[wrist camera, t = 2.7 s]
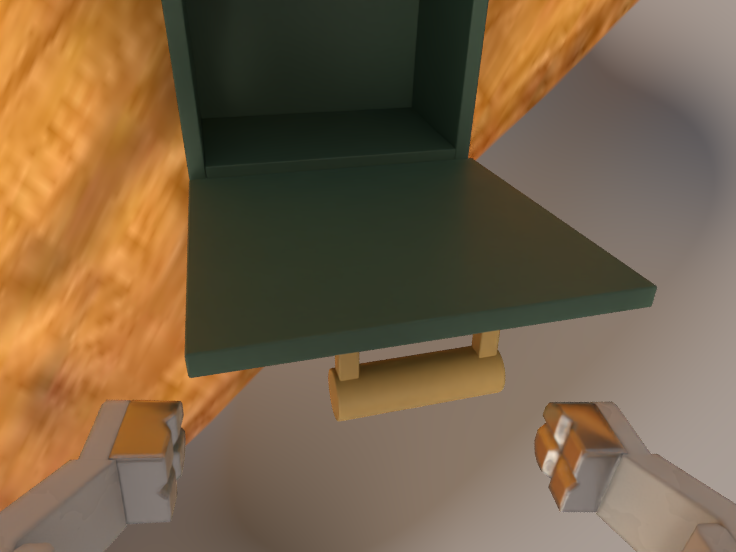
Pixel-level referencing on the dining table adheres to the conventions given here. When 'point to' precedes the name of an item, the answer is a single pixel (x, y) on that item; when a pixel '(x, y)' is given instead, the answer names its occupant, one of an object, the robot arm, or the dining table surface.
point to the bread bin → (323, 82)
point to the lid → (384, 277)
